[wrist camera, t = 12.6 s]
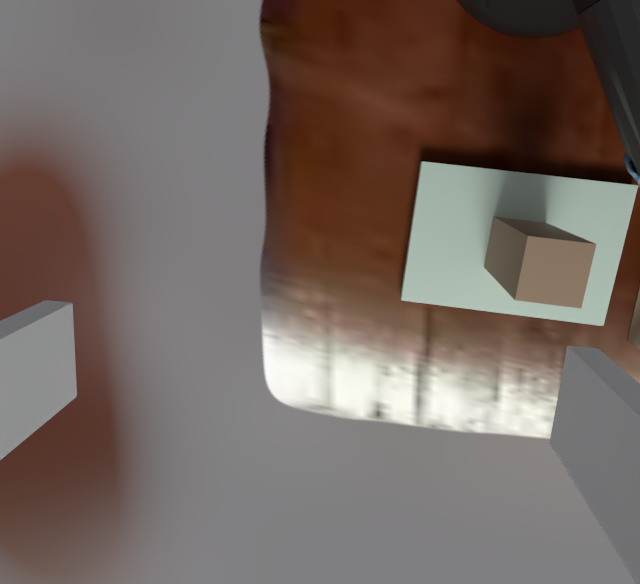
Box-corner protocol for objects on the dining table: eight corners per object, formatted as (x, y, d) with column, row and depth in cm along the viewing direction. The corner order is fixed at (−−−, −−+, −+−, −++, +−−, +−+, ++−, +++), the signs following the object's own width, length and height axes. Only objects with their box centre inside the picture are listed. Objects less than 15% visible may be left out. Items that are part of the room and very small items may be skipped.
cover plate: (420, 160, 44) (436, 164, 33) (629, 184, 43) (718, 196, 32) (400, 295, 47) (408, 340, 36) (596, 320, 46) (667, 374, 35)
